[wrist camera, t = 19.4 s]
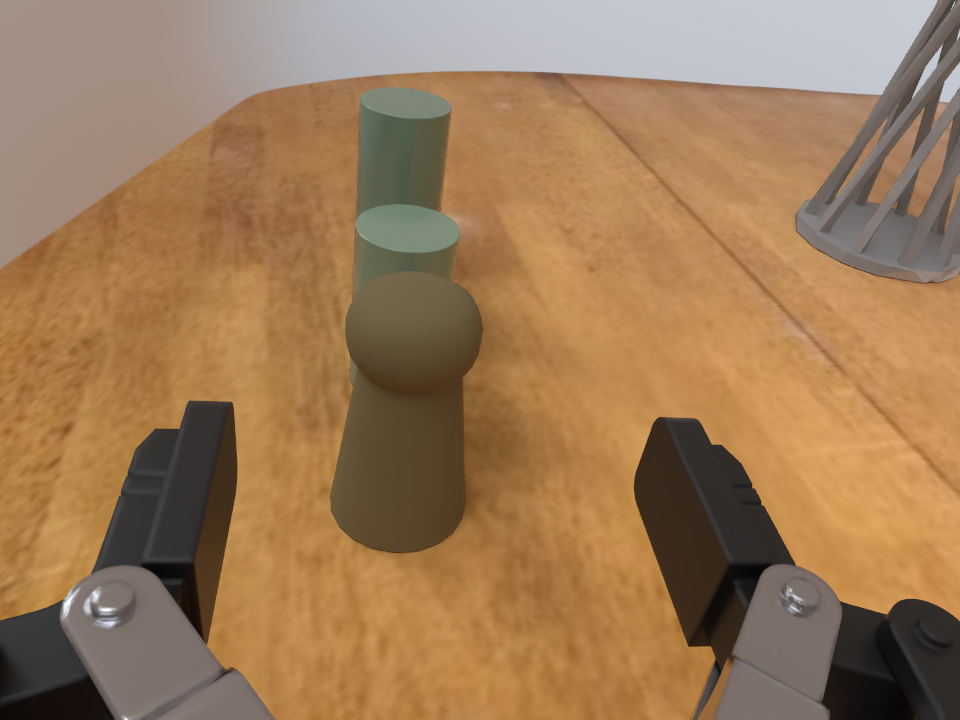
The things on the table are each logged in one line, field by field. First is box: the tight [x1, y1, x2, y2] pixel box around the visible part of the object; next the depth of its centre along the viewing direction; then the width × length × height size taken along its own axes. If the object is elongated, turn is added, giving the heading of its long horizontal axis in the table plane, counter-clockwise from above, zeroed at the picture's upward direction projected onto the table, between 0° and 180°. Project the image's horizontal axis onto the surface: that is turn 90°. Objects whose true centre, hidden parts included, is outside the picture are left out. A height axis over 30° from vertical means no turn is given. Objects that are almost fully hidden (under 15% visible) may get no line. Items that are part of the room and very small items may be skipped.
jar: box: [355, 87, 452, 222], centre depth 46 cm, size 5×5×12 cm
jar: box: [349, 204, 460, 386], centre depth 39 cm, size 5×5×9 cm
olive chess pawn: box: [330, 271, 483, 553], centre depth 32 cm, size 6×6×11 cm
